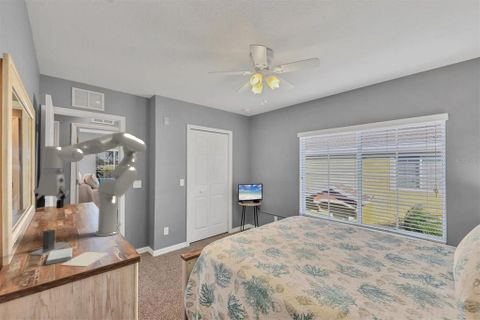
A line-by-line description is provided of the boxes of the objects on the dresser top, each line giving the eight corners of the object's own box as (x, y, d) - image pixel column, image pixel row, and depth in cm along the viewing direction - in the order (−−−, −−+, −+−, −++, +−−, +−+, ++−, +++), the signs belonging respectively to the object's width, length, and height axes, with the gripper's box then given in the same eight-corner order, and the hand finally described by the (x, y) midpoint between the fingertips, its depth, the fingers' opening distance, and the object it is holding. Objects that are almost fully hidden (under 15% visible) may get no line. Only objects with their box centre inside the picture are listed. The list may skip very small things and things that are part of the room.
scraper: (30, 255, 97) (31, 234, 97) (58, 244, 111) (59, 226, 111) (42, 256, 96) (43, 235, 97) (69, 244, 110) (70, 226, 111)
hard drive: (71, 256, 92) (72, 247, 102) (46, 260, 87) (49, 250, 97) (71, 260, 92) (72, 250, 102) (45, 265, 87) (49, 254, 97)
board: (85, 252, 101) (86, 251, 101) (108, 253, 100) (108, 253, 100) (60, 265, 88) (60, 264, 88) (86, 266, 87) (86, 266, 87)
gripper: (75, 172, 108) (73, 207, 107) (43, 171, 109) (41, 205, 109) (62, 172, 100) (60, 210, 100) (27, 171, 102) (25, 208, 101)
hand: (50, 207), depth 104 cm, fingers open, 9 cm apart
